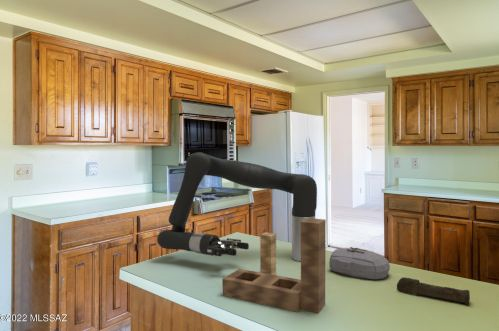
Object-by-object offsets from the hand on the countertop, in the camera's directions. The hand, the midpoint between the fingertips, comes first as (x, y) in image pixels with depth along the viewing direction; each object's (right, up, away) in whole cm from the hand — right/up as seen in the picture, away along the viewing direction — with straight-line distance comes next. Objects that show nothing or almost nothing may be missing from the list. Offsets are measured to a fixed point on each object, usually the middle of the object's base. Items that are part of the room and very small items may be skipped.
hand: (242, 249), depth 125 cm
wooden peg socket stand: (+10, -9, -21) cm, 25 cm away
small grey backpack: (+41, -9, +1) cm, 42 cm away
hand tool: (+56, -10, -21) cm, 60 cm away
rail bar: (+9, -9, -4) cm, 13 cm away
